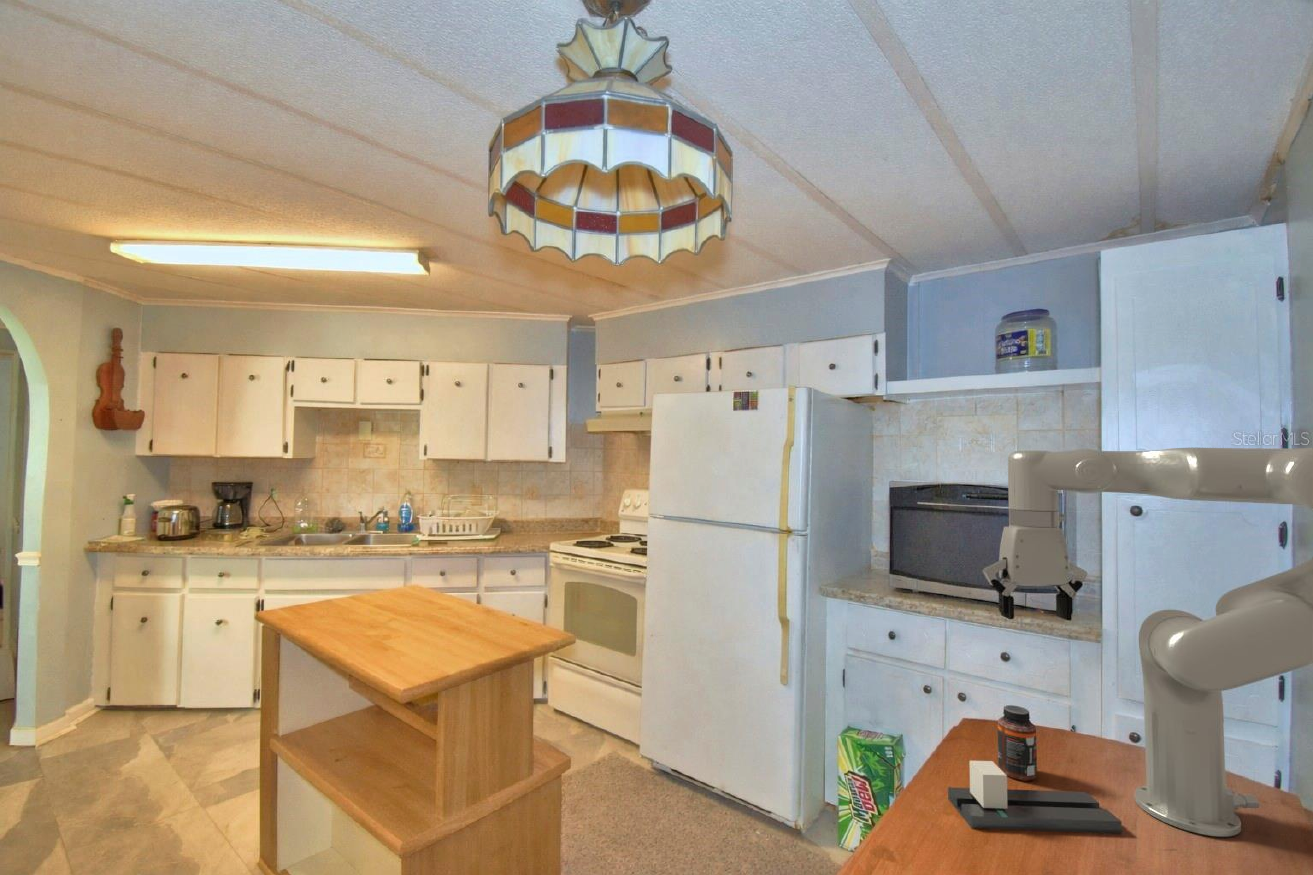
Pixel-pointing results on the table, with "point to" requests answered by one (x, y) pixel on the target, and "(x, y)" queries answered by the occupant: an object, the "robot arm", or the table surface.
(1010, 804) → the fader housing
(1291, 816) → the table surface
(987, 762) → the fader tab
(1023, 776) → the supplement bottle
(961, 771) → the table surface
